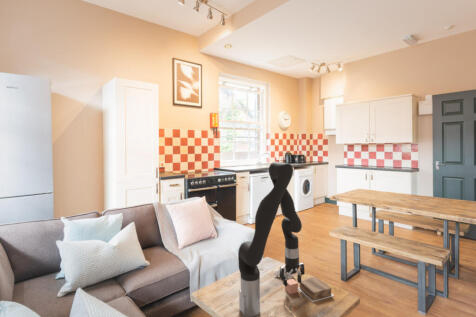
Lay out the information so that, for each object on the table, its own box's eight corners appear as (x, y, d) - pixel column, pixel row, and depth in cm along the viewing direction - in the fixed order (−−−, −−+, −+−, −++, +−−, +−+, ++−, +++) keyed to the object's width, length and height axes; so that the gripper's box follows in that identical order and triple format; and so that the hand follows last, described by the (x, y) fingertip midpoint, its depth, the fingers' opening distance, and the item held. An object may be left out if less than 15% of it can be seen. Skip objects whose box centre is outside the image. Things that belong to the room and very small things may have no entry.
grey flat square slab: (312, 304, 131) (312, 302, 131) (296, 289, 144) (296, 287, 144) (334, 297, 137) (334, 295, 136) (317, 284, 150) (317, 282, 149)
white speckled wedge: (292, 266, 153) (272, 266, 156) (294, 281, 153) (273, 280, 156) (293, 262, 159) (273, 262, 162) (294, 275, 159) (274, 275, 162)
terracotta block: (289, 296, 139) (289, 285, 138) (284, 291, 143) (284, 280, 143) (297, 293, 141) (297, 283, 140) (292, 289, 145) (292, 278, 145)
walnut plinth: (313, 300, 133) (313, 292, 133) (299, 288, 144) (299, 281, 144) (331, 295, 137) (331, 288, 137) (316, 284, 148) (316, 277, 148)
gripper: (283, 260, 135) (284, 290, 136) (307, 255, 140) (307, 284, 141) (276, 254, 142) (277, 283, 143) (299, 250, 147) (299, 278, 148)
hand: (292, 284), depth 142 cm, fingers open, 8 cm apart
